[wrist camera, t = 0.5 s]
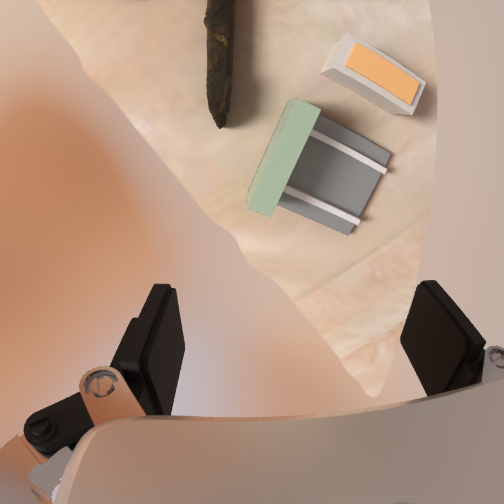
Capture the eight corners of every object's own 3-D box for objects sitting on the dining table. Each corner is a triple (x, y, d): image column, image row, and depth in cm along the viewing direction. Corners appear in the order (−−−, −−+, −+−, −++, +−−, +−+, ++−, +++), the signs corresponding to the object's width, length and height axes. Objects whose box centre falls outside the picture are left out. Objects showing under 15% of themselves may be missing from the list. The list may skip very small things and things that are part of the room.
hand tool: (206, -14, 25) (201, -29, 21) (240, -15, 25) (238, -30, 21) (198, 127, 34) (190, 129, 29) (232, 127, 34) (229, 129, 30)
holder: (333, 44, 29) (350, 32, 23) (402, 84, 31) (428, 82, 25) (319, 74, 31) (334, 66, 25) (389, 113, 32) (414, 115, 26)
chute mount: (288, 100, 32) (297, 98, 26) (387, 152, 34) (413, 162, 28) (247, 191, 37) (247, 208, 30) (346, 232, 39) (363, 256, 33)
